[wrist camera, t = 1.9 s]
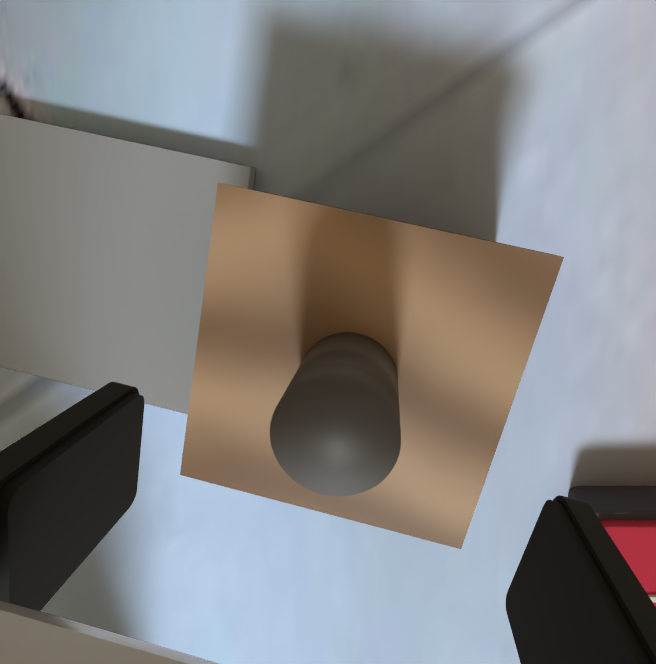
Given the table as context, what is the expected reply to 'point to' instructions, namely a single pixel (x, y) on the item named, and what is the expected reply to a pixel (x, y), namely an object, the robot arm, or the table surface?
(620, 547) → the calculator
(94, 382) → the mat
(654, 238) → the table surface
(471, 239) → the lid
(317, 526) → the table surface
